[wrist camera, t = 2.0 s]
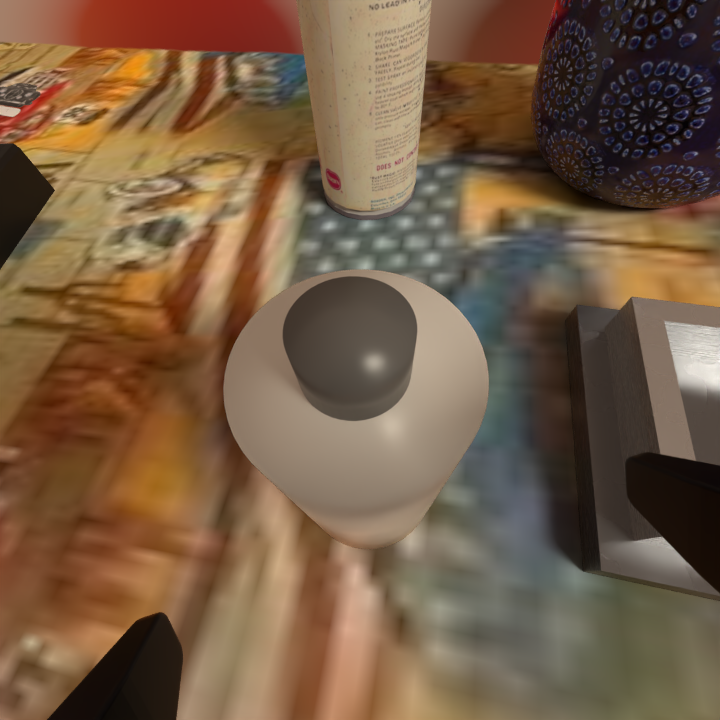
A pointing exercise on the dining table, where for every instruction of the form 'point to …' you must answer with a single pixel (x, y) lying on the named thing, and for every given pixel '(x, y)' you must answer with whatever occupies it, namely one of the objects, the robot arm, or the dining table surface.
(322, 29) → the aerosol can
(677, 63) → the planter
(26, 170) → the food platter
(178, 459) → the dining table surface
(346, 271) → the white bottle
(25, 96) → the toy shark
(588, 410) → the grey square tray
